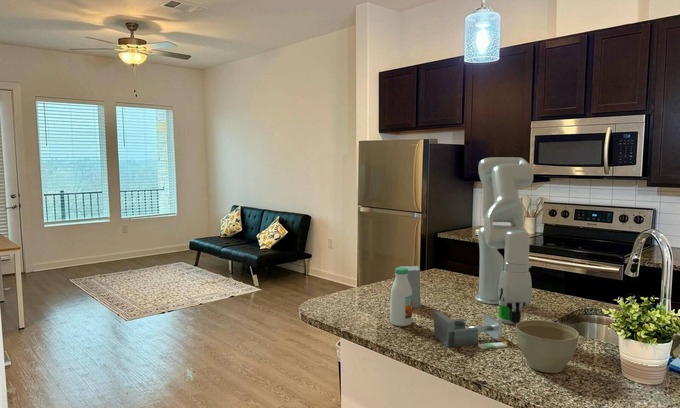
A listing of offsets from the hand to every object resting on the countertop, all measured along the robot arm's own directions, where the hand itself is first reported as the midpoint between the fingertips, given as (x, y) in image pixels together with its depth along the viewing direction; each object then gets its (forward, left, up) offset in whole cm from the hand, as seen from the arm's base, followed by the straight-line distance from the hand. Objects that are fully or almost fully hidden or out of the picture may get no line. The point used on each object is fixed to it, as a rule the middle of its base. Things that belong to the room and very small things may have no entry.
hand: (514, 322), depth 152 cm
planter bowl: (+5, +22, -5) cm, 24 cm away
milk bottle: (+33, -19, -5) cm, 38 cm away
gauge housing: (+21, -1, -5) cm, 22 cm away
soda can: (-6, -13, -5) cm, 15 cm away
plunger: (+12, +1, -4) cm, 13 cm away
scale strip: (+12, +7, -5) cm, 14 cm away
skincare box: (+23, -38, -5) cm, 44 cm away
